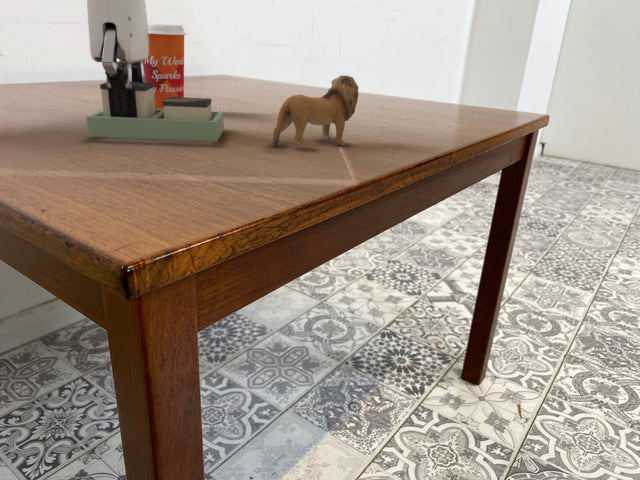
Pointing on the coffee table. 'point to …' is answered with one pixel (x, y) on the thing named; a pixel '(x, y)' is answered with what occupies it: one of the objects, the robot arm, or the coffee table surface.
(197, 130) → the green divided tray
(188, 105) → the pad
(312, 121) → the lion figurine
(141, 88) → the cream block
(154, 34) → the paper cup
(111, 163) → the coffee table surface
